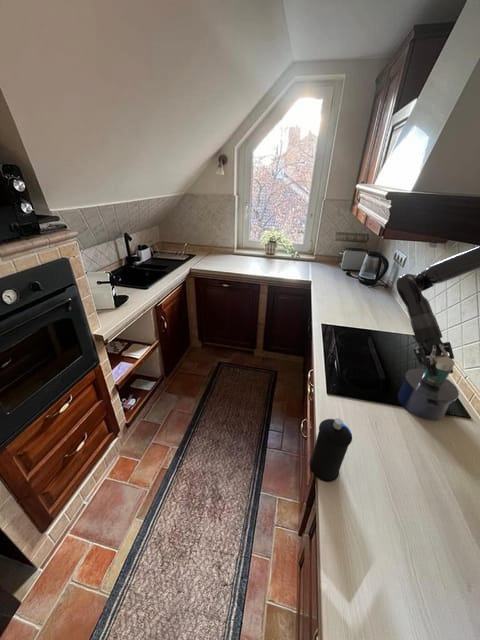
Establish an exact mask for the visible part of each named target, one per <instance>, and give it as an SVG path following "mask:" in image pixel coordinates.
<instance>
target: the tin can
mask: <svg viewBox="0 0 480 640" xmlns="http://www.w3.org/2000/svg"><path fill="white" fill-rule="evenodd" d="M433 360H434V364H433V365H434V366H435V369H436V371H437V374H438V376H436V377H431V376H430V375H429V373H428V370H427V367H426V368H425V372H424V375H423V376H422V378H423V380H424V381H425V382H426V383H428V384H429V385H432V386H435V387H441V386H442V385H443V383H444V382H445V380H446V378H447V379H448V377H449V375H450V374H451V373H450V372H451V370H452V369H453V368H454V366H455V361H454V359H451V358H449V357H447V356H444V355H436V356H435V358H434V359H433Z"/></svg>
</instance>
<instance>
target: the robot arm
mask: <svg viewBox="0 0 480 640" xmlns="http://www.w3.org/2000/svg"><path fill="white" fill-rule="evenodd" d="M479 269H480V245H479V246H477V247H474V248H471V249H469V250H465V251H462V252H459V253H456V254H453V255H451V256H448V257H446V258H444V259H441V260H439V261H436V262H434V263H432V264H430V265H428V266H427V267H426V268H425V269H424V270H422V271H420V272H418V273H415V274H412V273H404V274H401V275H400V276H399V277H397V279H396V282H395V289H396V291H397V294H398V296H399V297H400V299H401V301H402V302H403V304H404V306H405V308H406V311H407V314H408V317H409V321H410V326H411V328H412V332H413V334H414V337H415V340H416V343H419V346H417V347H414V348H413V352H414V355H415V357H416V359H417V361H418V363H419V365H423V366H425V367H426V368H427V370H428V373H429V375H430V376H431V377H436V376H438V374H437V371H436V369H435V366H434V365H433V364H434V360H433V359H434V358H435V356H436V355H444V356H447V357H449V358H451V359H452V360H454V359H455V355H454V352H453V348H452V343H451V342H450V341H445V342H443V341H442V340H441V339H442V338H443V333H442V331H441V328H440V326H439V323H438V320H437V317H436V316H435V314H434V312H433V309H432V306H431V304H430V301H429V300H428V299H427V298H426V297H425V295H423V293H422V292H425V291H426V290H429V289H431V288H433V287H434V286H436V285H439V284H442V283H445V282H448V281H450V280H453V279H455V278H458V277H461V276H463V275H466V274H468V273H471V272H473V271H475V270H479ZM449 374H454V369H453V368H452V370H451V372H450V373H449Z"/></svg>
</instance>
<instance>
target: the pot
mask: <svg viewBox="0 0 480 640" xmlns="http://www.w3.org/2000/svg"><path fill="white" fill-rule="evenodd" d="M425 370H426V368H425V369H424V368H411V369H409V370H407V371H406V372H405V375H404V380H403V382H402V385H401V386H400V389H399V391H398V393H397V400H398V402H399V403H400V405H401V406H402V407H403V408H404V409H405V410H406V411H408V412H409V413H410V414H412V415H413V416H415V417H418V418H421V419H423V420H426V421H440V420H442V419H444V417H445V415H446V414H447V412H448V411H449V409H450V407H451V406H452V404H453V403H454V402H455V401H456V400H457V399H458V398H459V395H460V393H459V390H458V387H457V386H456V385H455V384H454V383H453V382H452V381H451V380H450V379H448V377H447V378H446V380H445V382H444V383H443V385H442V386H441V387H435V386H432V385H429V384H428V383H426V382H425V381H424V380H423V378H422V376H423V375H424V372H425Z"/></svg>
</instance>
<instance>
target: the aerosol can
mask: <svg viewBox="0 0 480 640" xmlns="http://www.w3.org/2000/svg"><path fill="white" fill-rule="evenodd" d="M352 434H353V433H352V431H351V430H350V428H349V427H348V426H347V425H346V424H345V423H344V421H343V419H341V418H338V417H336V418H334V419H333V418H327V419H324V420H322V421H321V422H320V423H319V425H318V434H317V436H316V440H315V444H314V447H313V450H312V451H313V452H312V455H311V456H310V459H309V469H310V471H311V473H312V474H313V476H315V478H317V479H318V480H320V481H322V482H326V483H331V482H335V480H337V479H338V477H339V475H340V469H341V466H342V465H343V462H344V459H345V456H346V453H347V452H348V451H347V450H348V449H349V446H350V444H351V443H352V441H353V435H352Z"/></svg>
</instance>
